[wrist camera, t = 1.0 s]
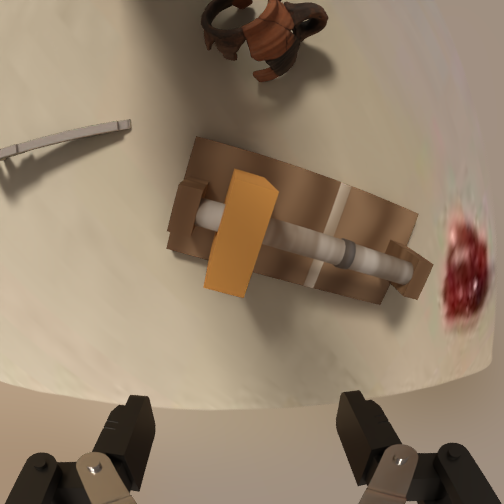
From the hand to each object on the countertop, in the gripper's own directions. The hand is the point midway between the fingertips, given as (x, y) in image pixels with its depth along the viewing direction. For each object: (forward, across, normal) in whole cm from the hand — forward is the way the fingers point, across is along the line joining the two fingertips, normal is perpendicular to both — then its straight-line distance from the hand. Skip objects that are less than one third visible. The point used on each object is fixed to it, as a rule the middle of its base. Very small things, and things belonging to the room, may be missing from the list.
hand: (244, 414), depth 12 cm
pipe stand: (+24, -6, -4) cm, 25 cm away
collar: (+21, 0, -6) cm, 22 cm away
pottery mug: (+22, -3, -25) cm, 33 cm away
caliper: (+23, +22, -15) cm, 35 cm away
